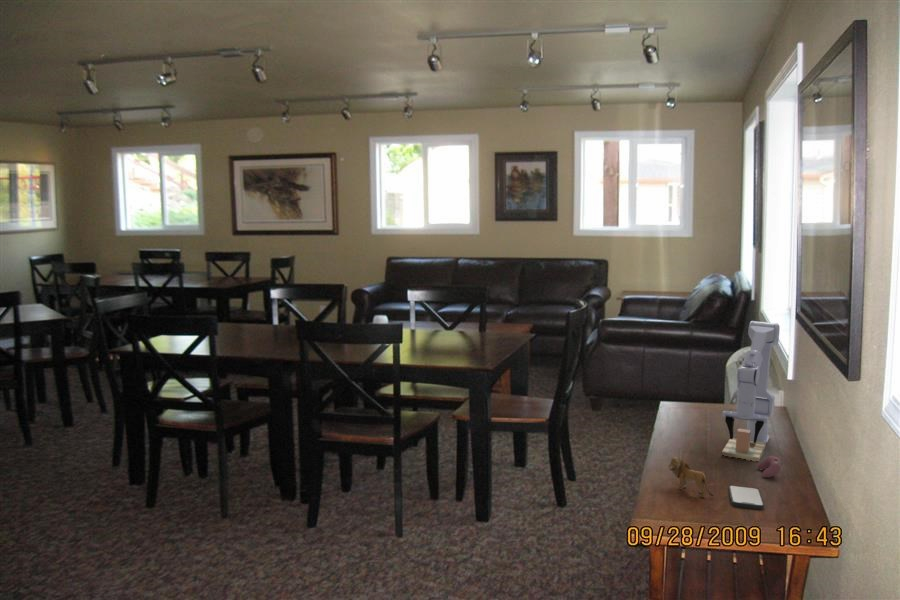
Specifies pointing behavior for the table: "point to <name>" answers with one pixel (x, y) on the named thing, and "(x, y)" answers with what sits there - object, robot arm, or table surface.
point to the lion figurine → (688, 475)
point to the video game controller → (770, 466)
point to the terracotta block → (743, 440)
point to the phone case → (746, 497)
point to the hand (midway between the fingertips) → (743, 440)
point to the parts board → (752, 455)
